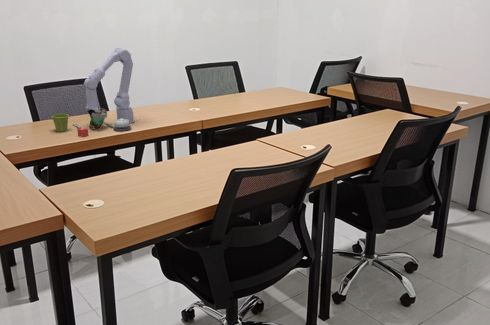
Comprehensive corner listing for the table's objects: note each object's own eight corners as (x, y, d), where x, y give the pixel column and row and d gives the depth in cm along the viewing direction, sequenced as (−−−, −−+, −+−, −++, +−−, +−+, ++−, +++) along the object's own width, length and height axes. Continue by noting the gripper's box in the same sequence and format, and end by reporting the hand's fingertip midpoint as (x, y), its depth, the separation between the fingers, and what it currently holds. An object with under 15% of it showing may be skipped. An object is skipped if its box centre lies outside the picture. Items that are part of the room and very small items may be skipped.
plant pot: (64, 133, 279) (63, 118, 276) (49, 132, 281) (47, 117, 278) (73, 128, 288) (72, 114, 285) (58, 127, 289) (57, 113, 287)
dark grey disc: (126, 126, 294) (126, 124, 293) (133, 129, 286) (133, 127, 286) (110, 128, 288) (110, 126, 288) (117, 132, 281) (117, 130, 280)
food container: (97, 132, 283) (101, 117, 279) (87, 127, 283) (92, 112, 279) (106, 126, 294) (111, 111, 290) (97, 121, 295) (102, 107, 290)
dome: (125, 123, 292) (125, 116, 290) (131, 126, 286) (130, 119, 284) (112, 125, 287) (112, 118, 286) (118, 128, 281) (117, 121, 280)
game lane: (101, 120, 306) (101, 119, 305) (114, 127, 291) (114, 126, 290) (72, 125, 295) (72, 124, 295) (84, 132, 280) (84, 131, 280)
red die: (84, 134, 277) (83, 126, 275) (88, 135, 274) (87, 128, 273) (78, 135, 274) (77, 128, 272) (82, 137, 271) (81, 129, 270)
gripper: (80, 97, 289) (82, 120, 294) (89, 102, 278) (91, 125, 283) (92, 96, 293) (94, 118, 298) (101, 100, 282) (103, 123, 287)
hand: (94, 122), depth 291 cm, fingers closed, pressing on food container
